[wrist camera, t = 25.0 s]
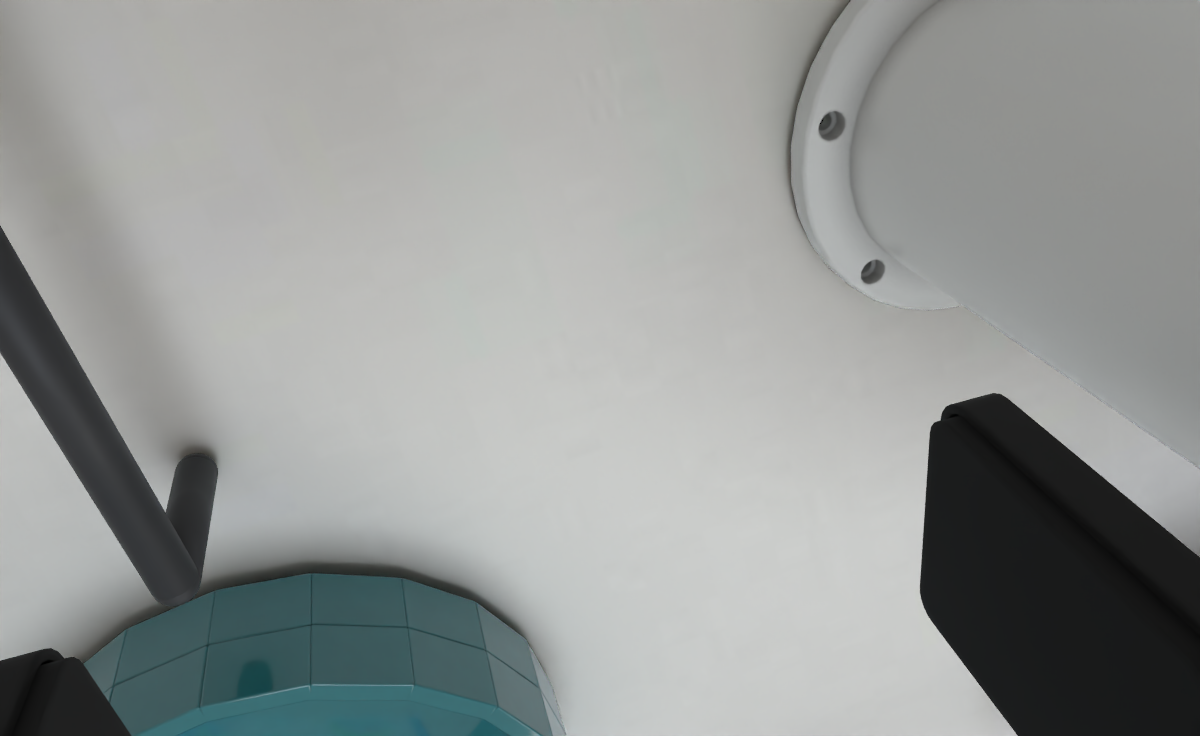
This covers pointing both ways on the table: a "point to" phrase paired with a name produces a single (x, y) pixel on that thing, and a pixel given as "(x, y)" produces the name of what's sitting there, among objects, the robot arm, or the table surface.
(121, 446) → the ladle
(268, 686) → the bowl
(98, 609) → the table surface
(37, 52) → the table surface
